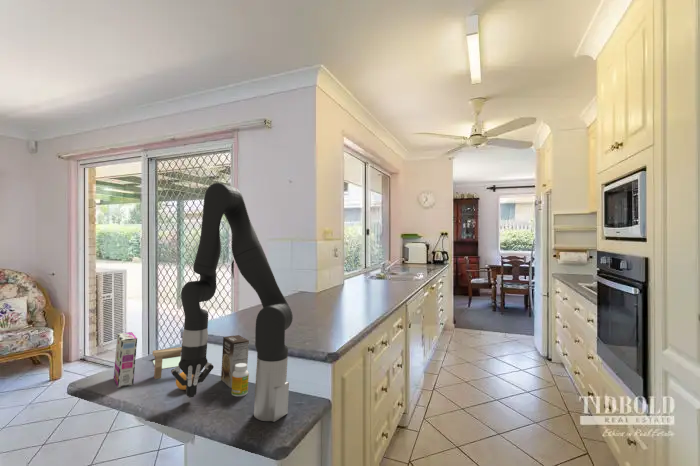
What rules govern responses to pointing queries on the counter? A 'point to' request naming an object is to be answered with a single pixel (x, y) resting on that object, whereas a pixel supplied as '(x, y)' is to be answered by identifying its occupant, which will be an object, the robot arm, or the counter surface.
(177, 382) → the ball
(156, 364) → the bridge
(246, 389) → the supplement bottle
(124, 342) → the candy bar box
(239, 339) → the coffee box
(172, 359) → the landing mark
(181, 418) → the counter surface
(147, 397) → the counter surface
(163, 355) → the stopper
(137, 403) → the counter surface
